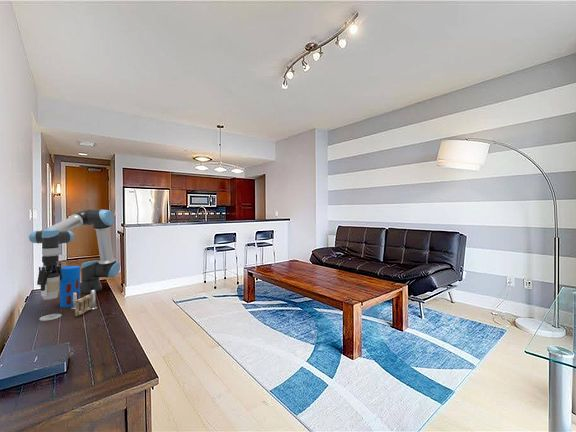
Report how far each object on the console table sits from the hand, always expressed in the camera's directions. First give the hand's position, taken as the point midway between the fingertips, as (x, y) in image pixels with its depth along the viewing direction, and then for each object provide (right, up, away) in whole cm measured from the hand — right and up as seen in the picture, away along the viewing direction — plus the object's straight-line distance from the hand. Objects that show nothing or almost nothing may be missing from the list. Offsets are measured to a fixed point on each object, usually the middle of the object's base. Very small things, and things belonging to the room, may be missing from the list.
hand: (50, 293), depth 168 cm
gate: (+15, -13, +7) cm, 21 cm away
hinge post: (+14, -14, +16) cm, 26 cm away
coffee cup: (0, -3, 0) cm, 3 cm away
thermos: (-6, -14, +23) cm, 28 cm away
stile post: (+2, -14, +16) cm, 22 cm away
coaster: (0, -14, 0) cm, 14 cm away
